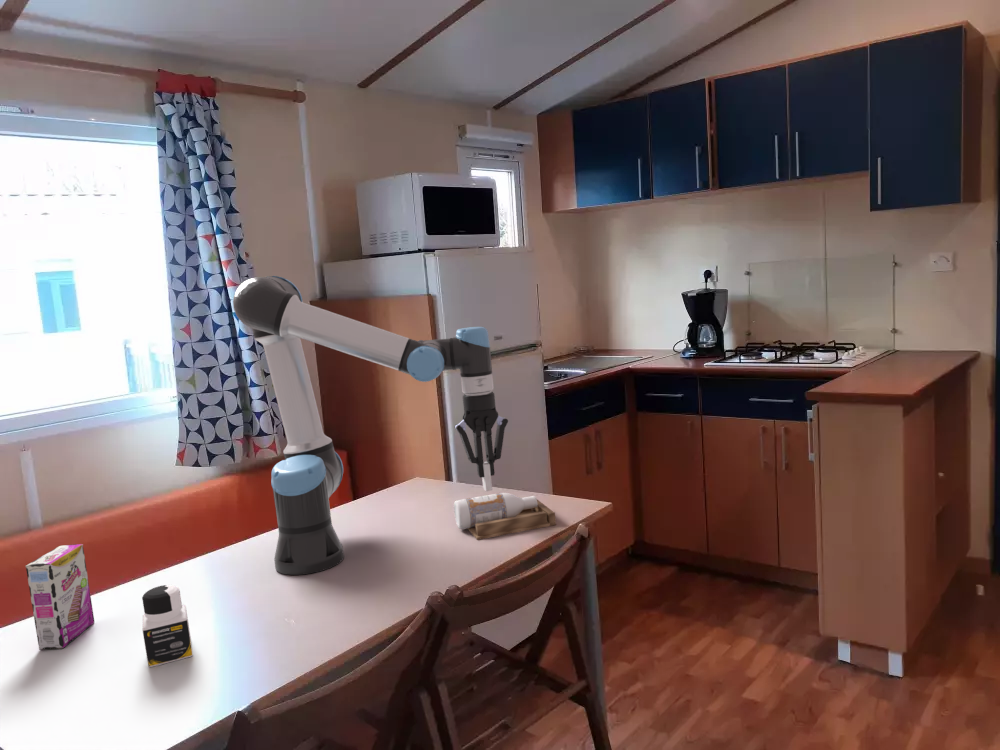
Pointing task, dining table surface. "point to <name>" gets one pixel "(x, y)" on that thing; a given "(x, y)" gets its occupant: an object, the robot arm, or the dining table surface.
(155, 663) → the medicine bottle
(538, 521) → the wooden tray
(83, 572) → the candy bar box
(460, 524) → the bath foam
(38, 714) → the dining table surface
